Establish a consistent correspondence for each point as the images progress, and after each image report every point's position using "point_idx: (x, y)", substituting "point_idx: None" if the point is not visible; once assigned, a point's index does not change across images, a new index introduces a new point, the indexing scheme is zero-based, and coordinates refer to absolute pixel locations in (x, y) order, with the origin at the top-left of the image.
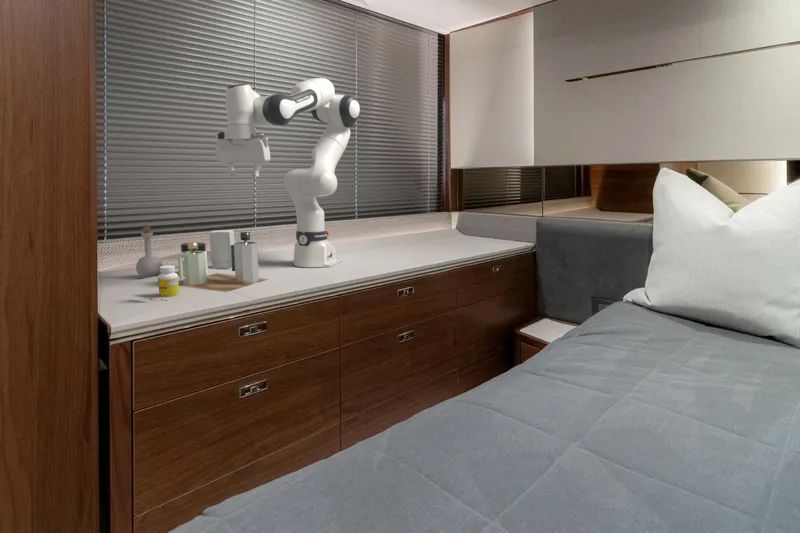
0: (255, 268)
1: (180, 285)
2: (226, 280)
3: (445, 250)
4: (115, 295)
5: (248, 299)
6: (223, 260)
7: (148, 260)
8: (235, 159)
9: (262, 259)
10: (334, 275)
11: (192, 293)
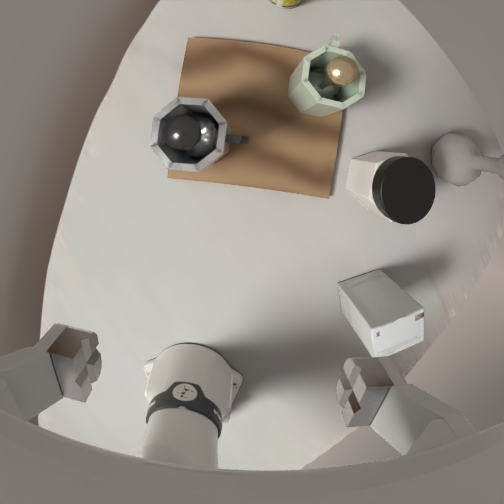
0: None
1: None
2: (257, 129)
3: None
4: (391, 7)
5: (134, 38)
6: (362, 284)
7: (461, 142)
8: (331, 500)
9: (323, 386)
10: (90, 291)
11: (271, 35)
